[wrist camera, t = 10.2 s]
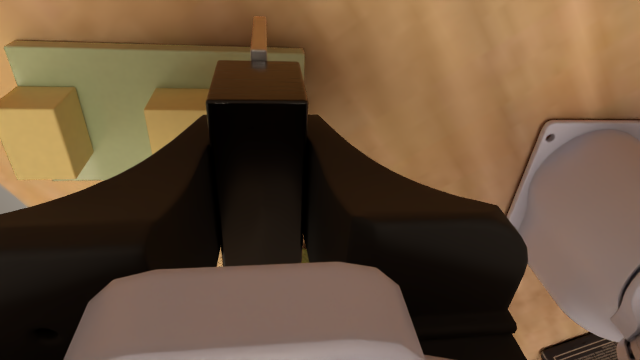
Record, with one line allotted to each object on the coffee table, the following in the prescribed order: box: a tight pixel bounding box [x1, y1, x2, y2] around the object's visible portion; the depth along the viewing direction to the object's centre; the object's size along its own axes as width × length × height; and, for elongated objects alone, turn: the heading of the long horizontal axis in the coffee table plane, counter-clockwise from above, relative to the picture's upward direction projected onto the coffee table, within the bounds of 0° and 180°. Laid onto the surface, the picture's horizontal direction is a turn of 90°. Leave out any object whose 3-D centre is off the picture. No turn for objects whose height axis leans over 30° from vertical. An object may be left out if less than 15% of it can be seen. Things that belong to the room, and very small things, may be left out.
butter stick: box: [144, 88, 209, 155], centre depth 20 cm, size 4×6×2 cm, turn 86°
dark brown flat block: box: [205, 16, 308, 267], centre depth 12 cm, size 6×2×6 cm, turn 177°
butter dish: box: [4, 40, 305, 181], centre depth 21 cm, size 7×13×1 cm, turn 86°
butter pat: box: [0, 86, 94, 180], centre depth 19 cm, size 4×2×2 cm
